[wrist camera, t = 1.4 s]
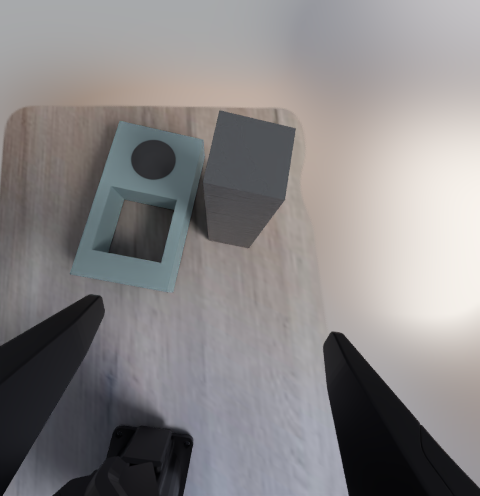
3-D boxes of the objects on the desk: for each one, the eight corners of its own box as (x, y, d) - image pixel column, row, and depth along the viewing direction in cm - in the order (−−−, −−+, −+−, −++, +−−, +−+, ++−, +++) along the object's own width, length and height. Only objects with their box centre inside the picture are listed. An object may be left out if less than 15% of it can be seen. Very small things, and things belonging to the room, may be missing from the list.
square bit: (248, 248, 24) (284, 199, 12) (208, 240, 24) (202, 182, 11) (255, 210, 25) (295, 128, 13) (216, 202, 24) (219, 110, 12)
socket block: (173, 292, 22) (166, 291, 19) (89, 276, 22) (69, 274, 19) (204, 157, 25) (203, 139, 22) (131, 141, 25) (119, 120, 22)
